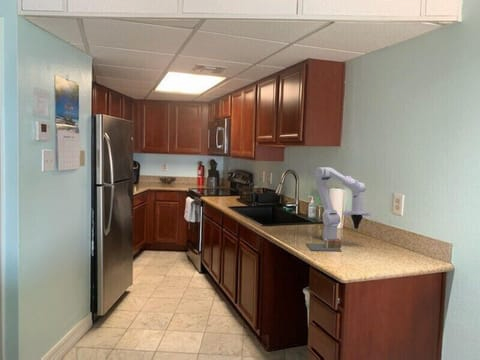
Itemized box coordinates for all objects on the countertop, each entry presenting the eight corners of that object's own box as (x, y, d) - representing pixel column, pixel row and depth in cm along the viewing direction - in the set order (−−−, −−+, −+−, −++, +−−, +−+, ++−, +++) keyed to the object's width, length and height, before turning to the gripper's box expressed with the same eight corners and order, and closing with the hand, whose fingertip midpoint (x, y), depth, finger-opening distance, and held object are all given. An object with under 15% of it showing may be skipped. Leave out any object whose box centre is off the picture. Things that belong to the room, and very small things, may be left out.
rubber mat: (305, 244, 212) (305, 243, 212) (334, 244, 213) (334, 243, 213) (311, 251, 198) (311, 249, 198) (341, 251, 199) (341, 250, 199)
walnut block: (338, 246, 208) (324, 245, 207) (339, 239, 207) (324, 238, 207) (340, 248, 204) (326, 247, 203) (341, 240, 203) (326, 240, 203)
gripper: (346, 204, 204) (345, 229, 205) (373, 205, 204) (371, 230, 205) (342, 202, 211) (341, 226, 212) (368, 203, 211) (366, 227, 212)
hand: (356, 228), depth 209 cm, fingers closed
